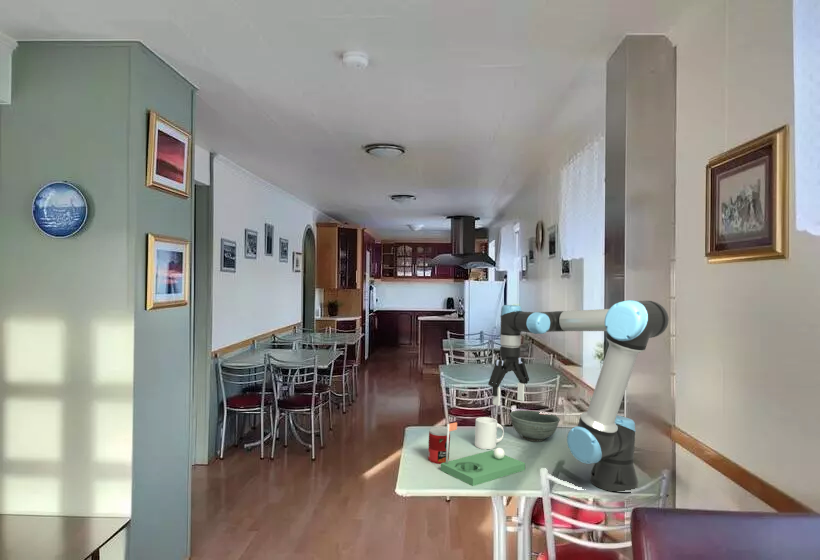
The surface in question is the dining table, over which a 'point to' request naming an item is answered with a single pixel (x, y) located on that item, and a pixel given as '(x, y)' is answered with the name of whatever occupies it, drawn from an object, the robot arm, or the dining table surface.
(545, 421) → the bowl
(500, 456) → the ball
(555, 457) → the dining table surface
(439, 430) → the canned food
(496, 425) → the mug
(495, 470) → the putting mat
